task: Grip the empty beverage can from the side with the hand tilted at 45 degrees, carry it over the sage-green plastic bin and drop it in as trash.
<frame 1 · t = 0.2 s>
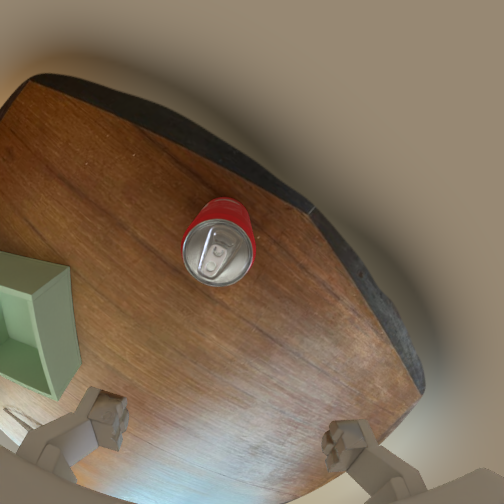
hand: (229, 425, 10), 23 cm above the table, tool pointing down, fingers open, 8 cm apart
beverage can: (224, 219, 31), on the table
sunglasses: (40, 438, 43), on the table
bin: (33, 307, 33), on the table
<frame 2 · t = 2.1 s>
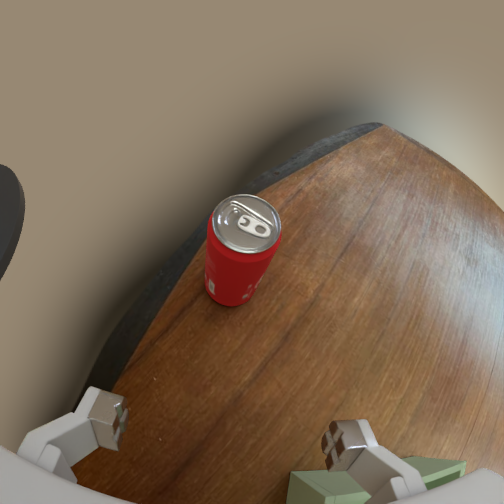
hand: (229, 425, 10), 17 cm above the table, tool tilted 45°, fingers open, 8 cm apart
beverage can: (229, 285, 30), on the table
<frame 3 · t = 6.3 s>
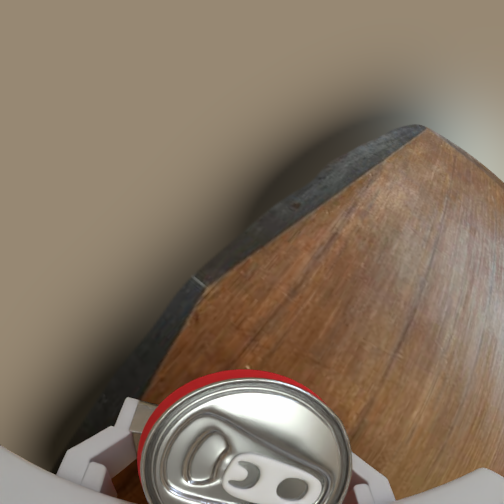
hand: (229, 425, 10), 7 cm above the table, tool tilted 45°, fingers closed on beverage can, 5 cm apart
beverage can: (219, 422, 15), on the table, touching gripper
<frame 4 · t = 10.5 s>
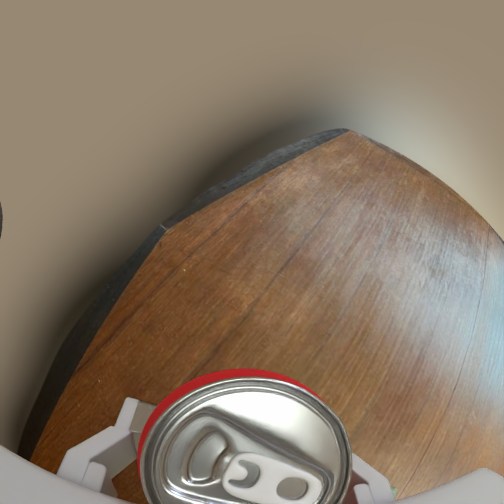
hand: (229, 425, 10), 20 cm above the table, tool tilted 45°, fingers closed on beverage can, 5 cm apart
beverage can: (219, 422, 15), point 13 cm above the table, touching gripper
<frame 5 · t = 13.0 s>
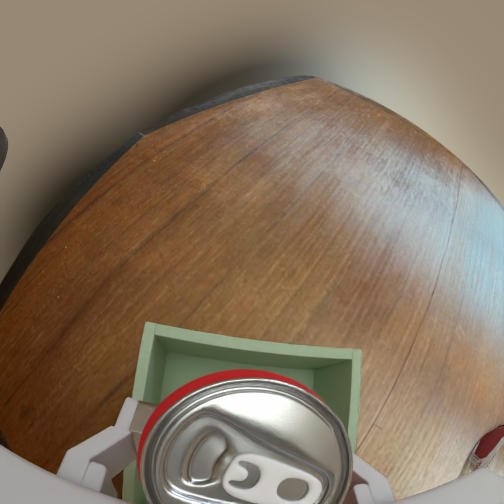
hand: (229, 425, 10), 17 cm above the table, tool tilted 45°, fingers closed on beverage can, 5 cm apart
beverage can: (219, 422, 15), point 10 cm above the table, touching gripper
sunglasses: (486, 473, 21), on the table
bin: (233, 433, 23), on the table
when the fingers open (12 cm above the table, at t = 14.8 s): beverage can drops 5 cm, resting on bin.
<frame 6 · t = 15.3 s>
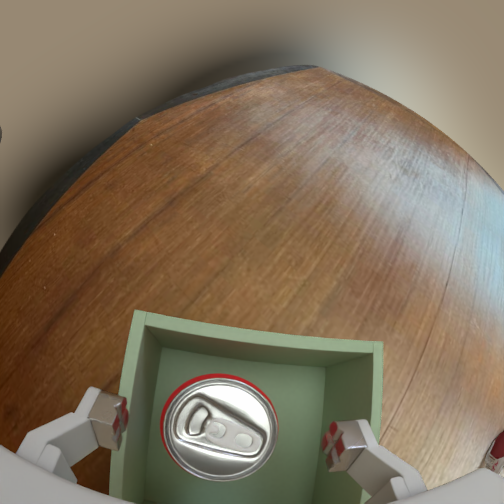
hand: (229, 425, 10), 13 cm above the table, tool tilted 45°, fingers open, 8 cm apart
beverage can: (210, 413, 21), point 1 cm above the table, touching bin
sunglasses: (500, 474, 19), on the table
bin: (236, 439, 20), on the table
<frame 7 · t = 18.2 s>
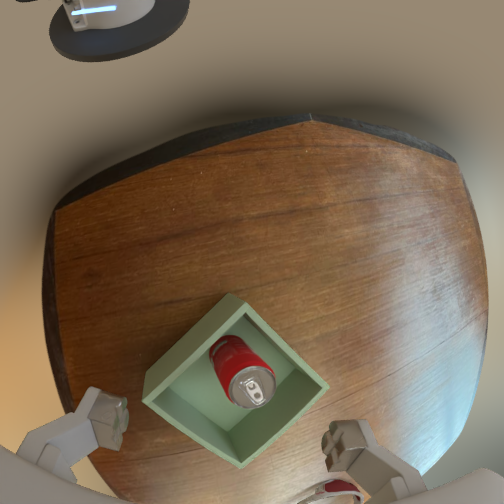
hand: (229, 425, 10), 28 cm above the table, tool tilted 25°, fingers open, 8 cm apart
beverage can: (227, 350, 37), point 1 cm above the table, touching bin
bin: (226, 371, 38), on the table
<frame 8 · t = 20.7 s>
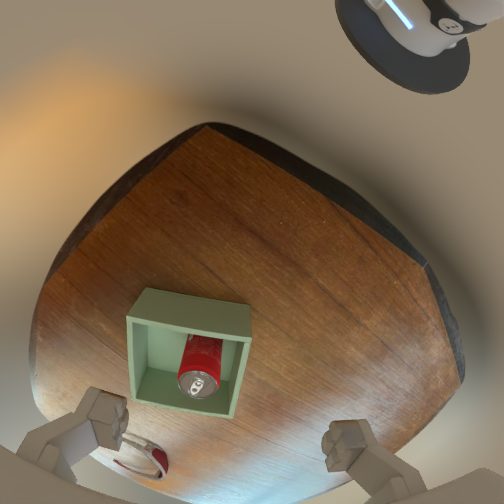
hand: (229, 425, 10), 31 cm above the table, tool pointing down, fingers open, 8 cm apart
beverage can: (206, 331, 43), point 1 cm above the table, touching bin
sunglasses: (136, 451, 54), on the table
bin: (191, 339, 44), on the table
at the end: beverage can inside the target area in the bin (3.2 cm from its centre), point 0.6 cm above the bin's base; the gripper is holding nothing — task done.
